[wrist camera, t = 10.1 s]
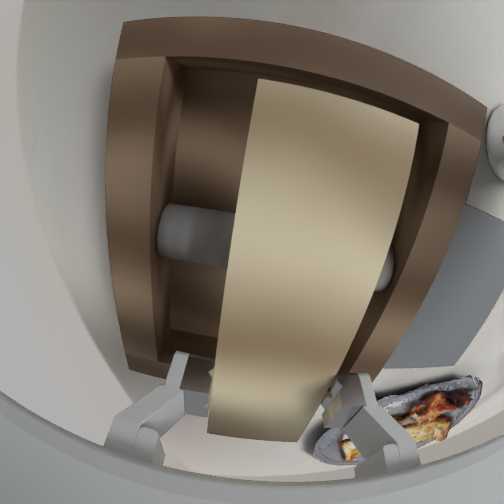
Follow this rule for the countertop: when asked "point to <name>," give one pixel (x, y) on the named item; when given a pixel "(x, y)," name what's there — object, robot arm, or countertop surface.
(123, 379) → the countertop surface
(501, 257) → the rubber mat
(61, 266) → the countertop surface
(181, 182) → the pocket board
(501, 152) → the drinking glass
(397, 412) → the food plate
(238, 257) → the maple bar
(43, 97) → the countertop surface
